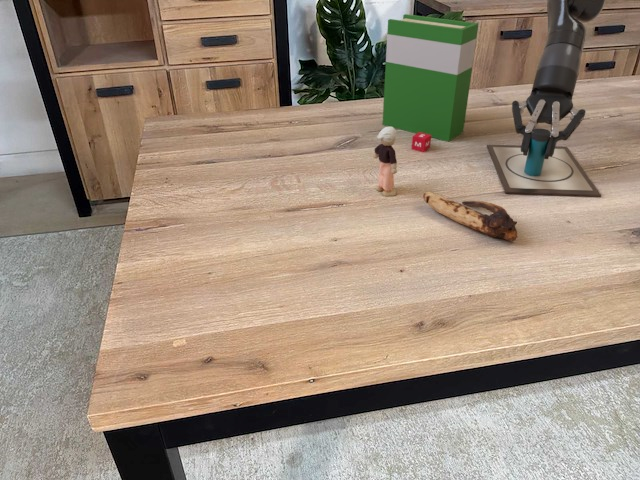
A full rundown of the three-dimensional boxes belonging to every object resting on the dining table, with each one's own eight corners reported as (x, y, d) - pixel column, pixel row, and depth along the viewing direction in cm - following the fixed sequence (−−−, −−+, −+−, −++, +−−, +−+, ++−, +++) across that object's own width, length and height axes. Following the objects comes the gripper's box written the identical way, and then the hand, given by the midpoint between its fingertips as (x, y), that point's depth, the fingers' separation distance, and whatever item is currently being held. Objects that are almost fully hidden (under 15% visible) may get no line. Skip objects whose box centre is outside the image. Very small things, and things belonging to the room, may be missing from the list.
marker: (539, 168, 106) (548, 128, 102) (543, 176, 104) (552, 135, 99) (522, 168, 107) (530, 128, 102) (525, 175, 104) (534, 134, 99)
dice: (423, 152, 116) (424, 139, 114) (411, 149, 117) (412, 136, 116) (430, 147, 118) (431, 134, 116) (418, 144, 119) (419, 131, 118)
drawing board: (566, 148, 116) (566, 145, 116) (600, 197, 98) (601, 194, 98) (486, 146, 118) (487, 143, 117) (505, 194, 100) (506, 191, 99)
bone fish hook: (533, 231, 89) (443, 193, 100) (540, 207, 87) (447, 171, 97) (504, 252, 84) (413, 210, 94) (511, 227, 81) (416, 186, 92)
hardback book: (382, 124, 129) (388, 19, 116) (398, 115, 134) (405, 14, 121) (448, 141, 120) (462, 29, 107) (463, 131, 125) (478, 23, 112)
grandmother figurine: (405, 194, 100) (411, 130, 93) (390, 200, 98) (394, 135, 91) (379, 179, 105) (382, 118, 98) (363, 185, 103) (366, 122, 96)
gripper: (519, 59, 103) (497, 142, 100) (599, 67, 98) (578, 154, 95) (518, 79, 110) (497, 157, 107) (593, 88, 105) (573, 169, 102)
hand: (535, 155), depth 101 cm, fingers closed on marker, 3 cm apart
